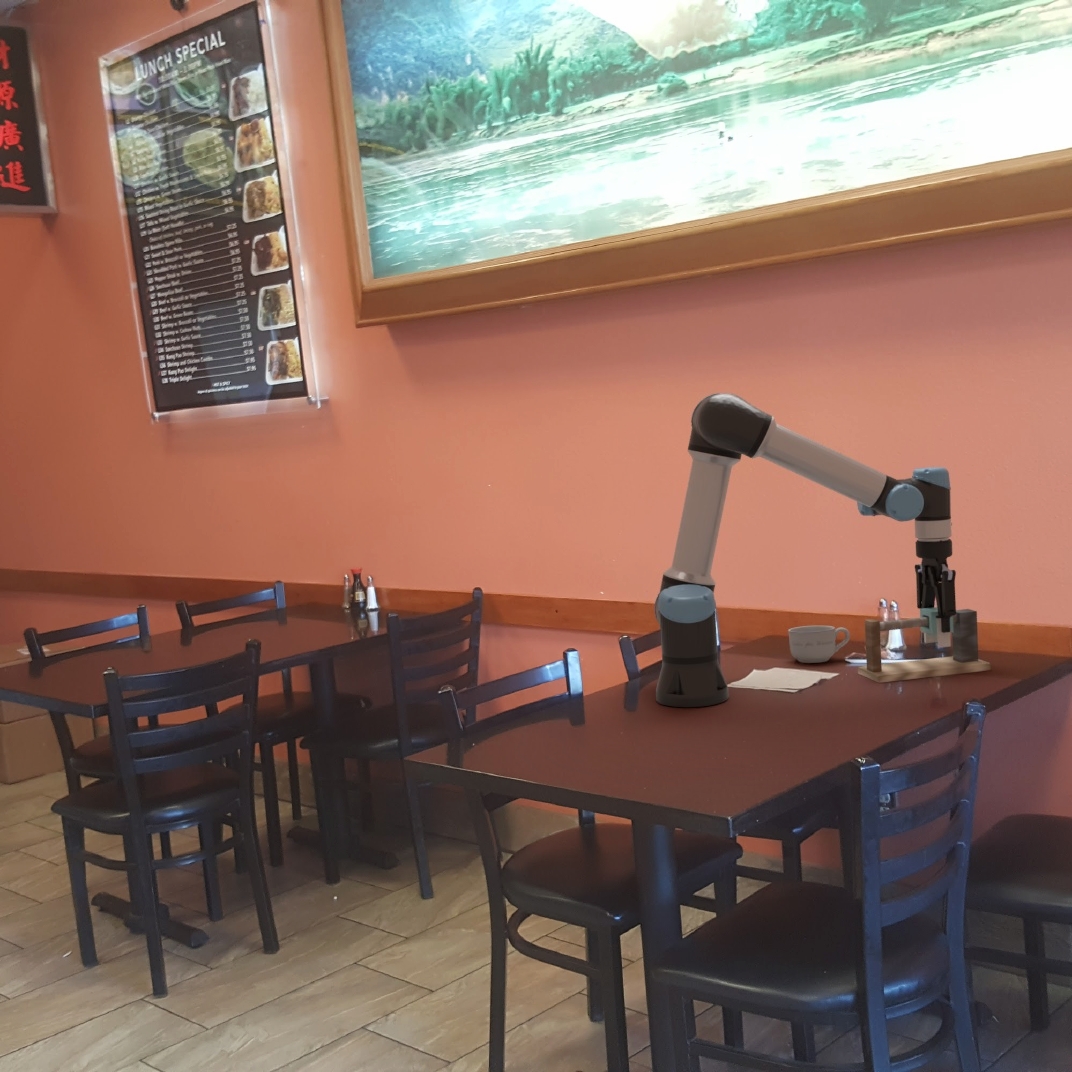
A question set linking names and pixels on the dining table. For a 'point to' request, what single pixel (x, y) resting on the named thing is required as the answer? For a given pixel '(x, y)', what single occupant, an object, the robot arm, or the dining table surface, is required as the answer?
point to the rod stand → (956, 664)
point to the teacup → (815, 642)
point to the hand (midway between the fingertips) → (937, 644)
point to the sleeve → (932, 620)
